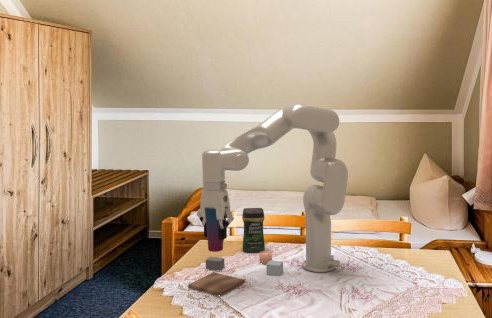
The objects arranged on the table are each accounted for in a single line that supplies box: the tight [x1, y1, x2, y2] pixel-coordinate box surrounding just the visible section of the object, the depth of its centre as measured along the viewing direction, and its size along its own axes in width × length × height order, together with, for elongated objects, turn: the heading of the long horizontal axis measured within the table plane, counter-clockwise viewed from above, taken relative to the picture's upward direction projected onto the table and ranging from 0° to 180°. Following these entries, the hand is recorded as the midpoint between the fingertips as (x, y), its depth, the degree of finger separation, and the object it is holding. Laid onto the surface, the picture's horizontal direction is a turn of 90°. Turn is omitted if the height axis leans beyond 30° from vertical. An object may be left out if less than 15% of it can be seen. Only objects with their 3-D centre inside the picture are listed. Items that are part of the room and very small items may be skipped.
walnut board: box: [187, 271, 246, 297], centre depth 164 cm, size 14×14×1 cm
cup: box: [205, 208, 224, 253], centre depth 162 cm, size 7×7×15 cm
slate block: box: [266, 259, 284, 277], centre depth 175 cm, size 5×5×4 cm
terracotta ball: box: [258, 250, 273, 265], centre depth 186 cm, size 5×5×4 cm
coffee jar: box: [241, 207, 266, 253], centre depth 202 cm, size 10×8×19 cm
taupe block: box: [205, 256, 225, 271], centre depth 181 cm, size 6×4×4 cm, turn 68°
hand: (215, 237), depth 162 cm, fingers closed on cup, 6 cm apart
